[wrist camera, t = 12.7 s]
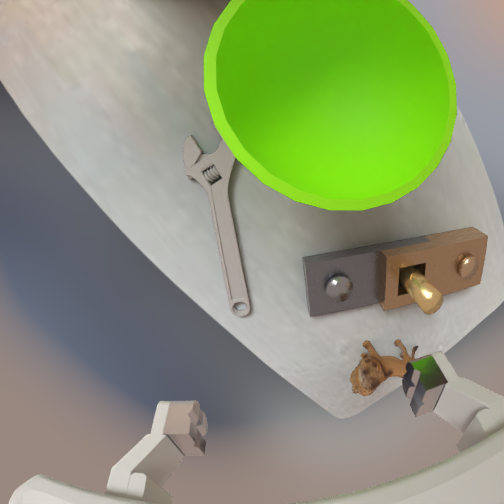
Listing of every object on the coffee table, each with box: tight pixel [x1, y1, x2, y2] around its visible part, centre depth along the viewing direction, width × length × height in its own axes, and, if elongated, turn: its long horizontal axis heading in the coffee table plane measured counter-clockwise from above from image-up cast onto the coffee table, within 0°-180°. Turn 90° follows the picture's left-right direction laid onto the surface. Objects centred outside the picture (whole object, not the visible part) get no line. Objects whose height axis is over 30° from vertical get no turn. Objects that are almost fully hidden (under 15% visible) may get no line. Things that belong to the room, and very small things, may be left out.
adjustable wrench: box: [183, 121, 250, 316], centre depth 36 cm, size 25×6×2 cm, turn 4°
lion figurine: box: [350, 340, 418, 396], centre depth 41 cm, size 15×5×9 cm, turn 91°
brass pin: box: [399, 265, 443, 314], centre depth 34 cm, size 3×3×10 cm
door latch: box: [303, 227, 488, 317], centre depth 36 cm, size 8×28×5 cm, turn 100°
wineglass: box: [204, 0, 457, 211], centre depth 22 cm, size 16×16×18 cm
